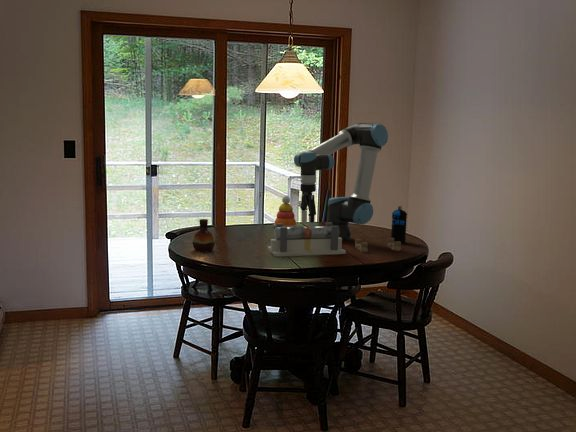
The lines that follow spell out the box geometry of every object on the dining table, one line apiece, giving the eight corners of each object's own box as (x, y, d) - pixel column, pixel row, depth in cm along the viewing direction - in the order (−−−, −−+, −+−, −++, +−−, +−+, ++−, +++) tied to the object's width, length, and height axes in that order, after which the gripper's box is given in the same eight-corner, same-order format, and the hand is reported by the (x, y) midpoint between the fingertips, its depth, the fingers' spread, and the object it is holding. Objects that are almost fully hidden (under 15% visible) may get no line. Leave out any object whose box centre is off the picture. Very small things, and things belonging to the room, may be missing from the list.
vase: (219, 249, 309) (219, 219, 306) (205, 254, 299) (205, 222, 297) (201, 247, 314) (201, 217, 312) (187, 251, 305) (187, 220, 302)
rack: (354, 247, 321) (355, 239, 320) (392, 246, 326) (393, 238, 325) (361, 251, 311) (362, 243, 310) (400, 250, 316) (400, 242, 315)
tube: (276, 240, 301) (276, 227, 301) (274, 239, 307) (274, 227, 307) (339, 238, 309) (339, 226, 309) (335, 237, 315) (335, 225, 315)
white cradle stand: (267, 249, 312) (268, 222, 310) (335, 247, 321) (336, 221, 319) (274, 256, 297) (275, 228, 295) (345, 253, 306) (346, 227, 304)
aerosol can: (393, 240, 343) (395, 204, 339) (407, 241, 338) (409, 205, 335) (388, 242, 336) (389, 206, 332) (402, 244, 331) (404, 207, 328)
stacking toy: (294, 230, 364) (295, 197, 361) (270, 228, 367) (271, 196, 364) (299, 226, 378) (300, 194, 375) (276, 224, 381) (277, 193, 378)
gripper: (294, 180, 315) (294, 221, 318) (307, 186, 291) (307, 231, 295) (308, 180, 316) (308, 220, 320) (323, 186, 293) (322, 230, 296)
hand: (307, 225), depth 307 cm, fingers open, 13 cm apart
